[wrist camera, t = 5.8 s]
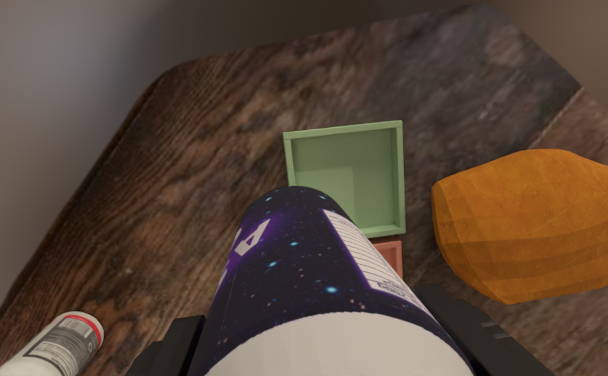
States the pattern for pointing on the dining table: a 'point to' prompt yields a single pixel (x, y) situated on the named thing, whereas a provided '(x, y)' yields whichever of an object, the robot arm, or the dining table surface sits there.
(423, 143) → the dining table surface
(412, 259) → the dining table surface
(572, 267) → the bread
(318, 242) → the beverage can
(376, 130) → the green tray
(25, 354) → the pill bottle
